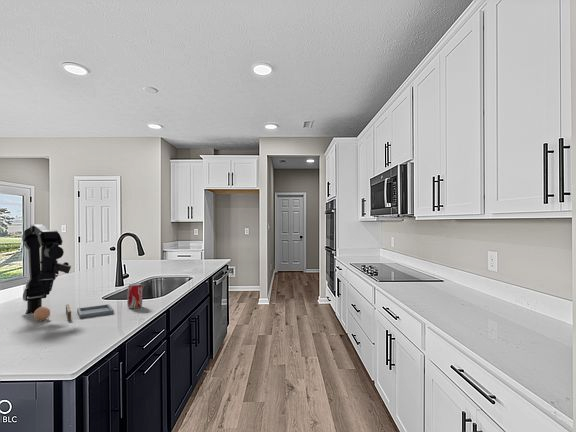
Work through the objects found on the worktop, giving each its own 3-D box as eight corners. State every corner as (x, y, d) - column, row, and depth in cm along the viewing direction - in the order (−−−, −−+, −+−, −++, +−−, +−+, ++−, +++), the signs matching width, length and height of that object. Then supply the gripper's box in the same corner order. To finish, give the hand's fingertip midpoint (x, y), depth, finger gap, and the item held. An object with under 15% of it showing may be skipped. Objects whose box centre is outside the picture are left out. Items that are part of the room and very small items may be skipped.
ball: (33, 319, 153) (33, 306, 153) (49, 317, 156) (50, 304, 156) (33, 323, 148) (33, 309, 148) (50, 320, 152) (50, 307, 152)
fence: (65, 312, 164) (65, 304, 164) (68, 312, 165) (68, 304, 165) (67, 320, 151) (67, 312, 151) (71, 320, 152) (71, 311, 152)
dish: (77, 311, 166) (77, 308, 166) (109, 307, 174) (109, 304, 174) (79, 318, 155) (79, 314, 155) (113, 313, 163) (113, 310, 163)
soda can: (136, 309, 171) (136, 285, 171) (124, 308, 172) (124, 285, 173) (145, 306, 178) (145, 283, 178) (133, 305, 179) (133, 282, 179)
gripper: (68, 258, 149) (68, 294, 148) (71, 255, 165) (71, 287, 165) (37, 260, 143) (37, 297, 143) (43, 257, 159) (42, 290, 159)
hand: (48, 292), depth 152 cm, fingers open, 9 cm apart
